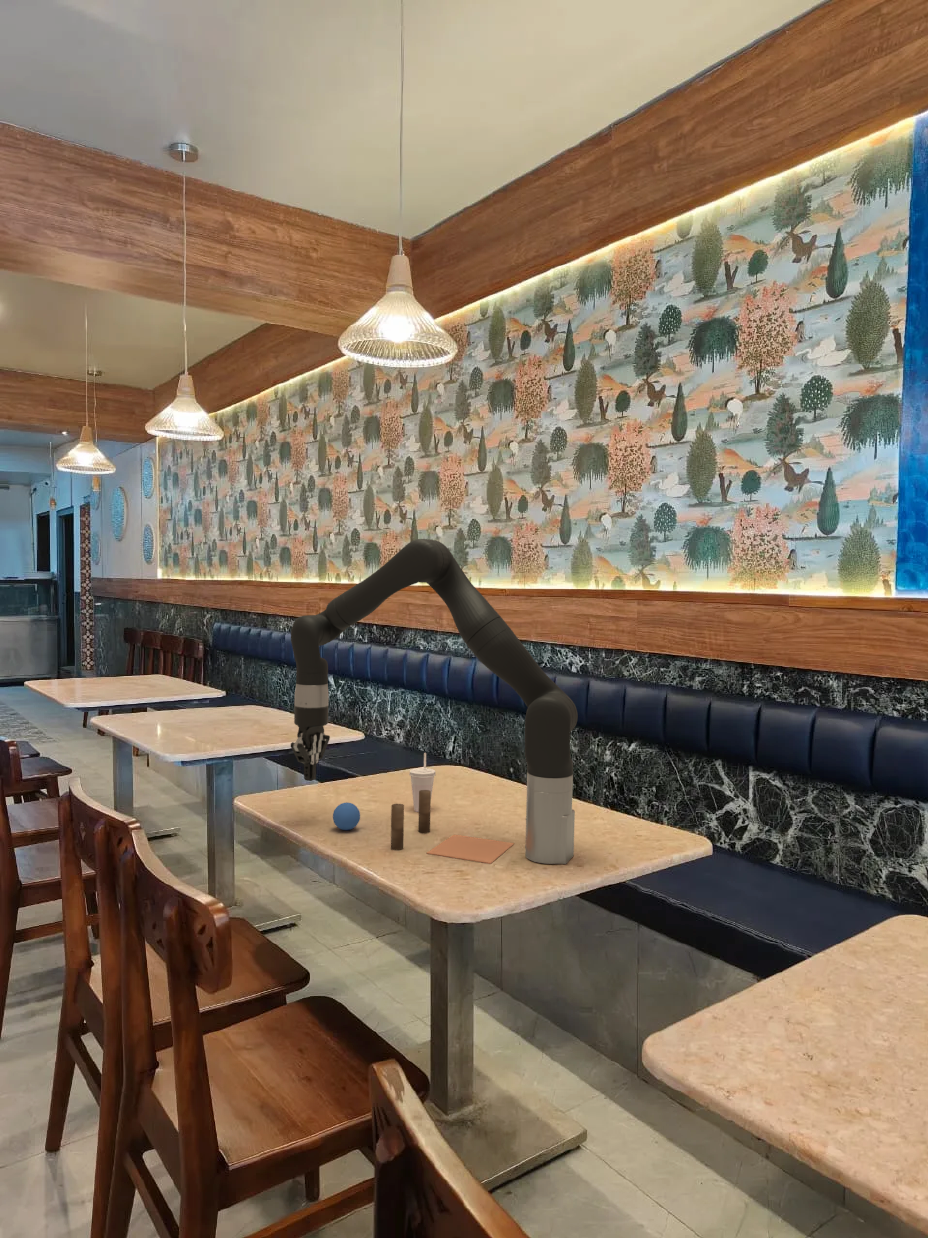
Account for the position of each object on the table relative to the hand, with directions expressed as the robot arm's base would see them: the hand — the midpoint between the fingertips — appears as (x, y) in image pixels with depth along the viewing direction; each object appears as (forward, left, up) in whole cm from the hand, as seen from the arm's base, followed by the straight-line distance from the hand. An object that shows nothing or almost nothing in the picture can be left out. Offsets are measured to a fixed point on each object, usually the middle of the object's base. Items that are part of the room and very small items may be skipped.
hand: (310, 779), depth 192 cm
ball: (-10, 0, -7) cm, 12 cm away
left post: (-26, +6, -10) cm, 28 cm away
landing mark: (-40, 0, -10) cm, 41 cm away
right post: (-26, -7, -10) cm, 28 cm away
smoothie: (-18, -22, -10) cm, 30 cm away
